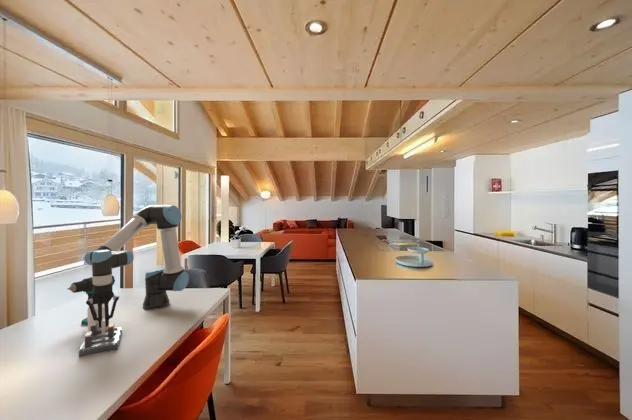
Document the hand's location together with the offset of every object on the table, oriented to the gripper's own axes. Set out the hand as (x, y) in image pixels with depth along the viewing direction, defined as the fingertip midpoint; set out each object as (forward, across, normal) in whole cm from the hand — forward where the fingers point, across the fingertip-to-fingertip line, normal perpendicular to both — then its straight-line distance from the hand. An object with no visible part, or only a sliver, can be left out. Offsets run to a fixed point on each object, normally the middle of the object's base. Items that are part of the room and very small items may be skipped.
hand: (104, 333), depth 143 cm
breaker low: (+2, +5, -6) cm, 8 cm away
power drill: (+5, +10, -34) cm, 35 cm away
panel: (+5, +1, 0) cm, 5 cm away
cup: (+5, +4, -14) cm, 16 cm away
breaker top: (+2, +5, +7) cm, 8 cm away
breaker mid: (+2, -3, 0) cm, 3 cm away
